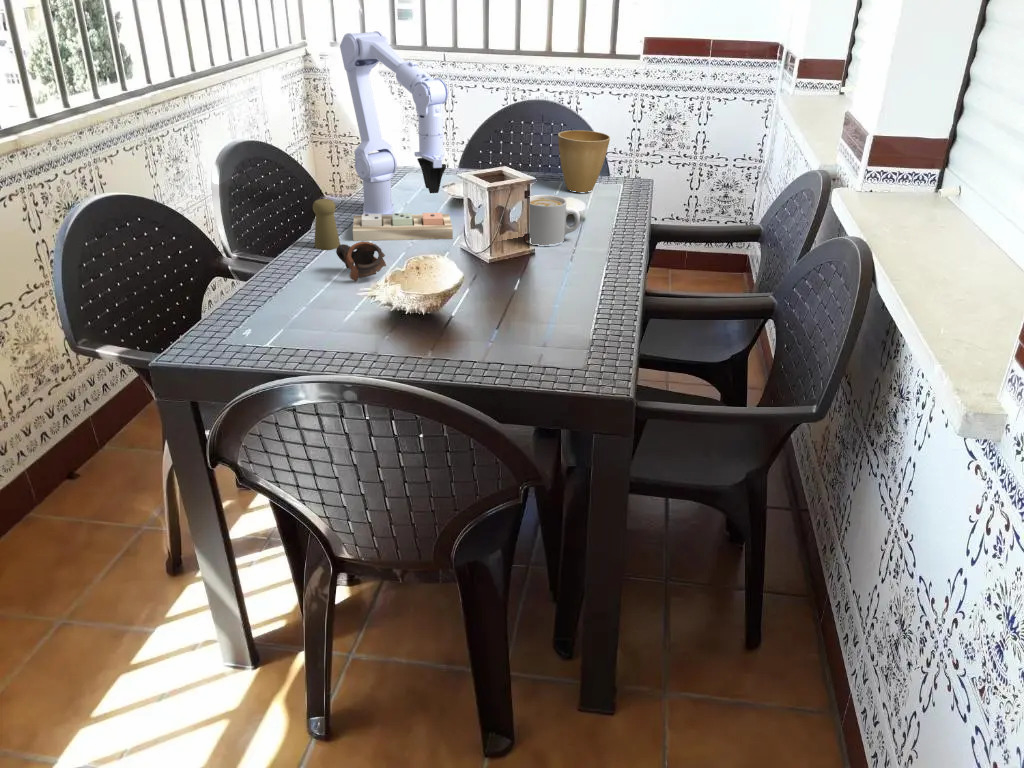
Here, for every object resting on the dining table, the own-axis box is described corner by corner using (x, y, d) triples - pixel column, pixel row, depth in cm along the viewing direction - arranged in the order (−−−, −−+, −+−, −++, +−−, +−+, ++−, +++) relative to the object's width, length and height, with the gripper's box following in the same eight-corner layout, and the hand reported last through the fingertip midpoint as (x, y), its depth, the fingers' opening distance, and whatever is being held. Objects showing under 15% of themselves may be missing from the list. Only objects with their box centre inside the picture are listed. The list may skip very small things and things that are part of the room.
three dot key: (392, 225, 206) (392, 212, 205) (412, 224, 207) (411, 212, 205) (393, 231, 202) (392, 218, 200) (412, 230, 203) (412, 218, 201)
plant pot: (590, 200, 233) (594, 143, 226) (545, 191, 240) (548, 135, 233) (614, 189, 244) (619, 134, 237) (570, 180, 251) (574, 127, 244)
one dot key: (422, 224, 207) (422, 212, 206) (441, 224, 208) (441, 211, 206) (423, 230, 203) (423, 218, 201) (443, 230, 204) (442, 217, 202)
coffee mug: (520, 245, 199) (522, 204, 194) (527, 232, 207) (529, 193, 202) (575, 250, 197) (578, 209, 192) (580, 236, 205) (583, 197, 200)
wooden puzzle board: (354, 225, 208) (354, 215, 207) (449, 223, 212) (448, 214, 210) (353, 240, 198) (352, 230, 197) (452, 238, 201) (452, 228, 200)
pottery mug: (394, 270, 183) (393, 246, 176) (374, 300, 179) (372, 277, 172) (346, 250, 185) (343, 225, 178) (325, 280, 180) (321, 256, 173)
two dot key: (362, 225, 205) (361, 213, 204) (382, 225, 206) (381, 212, 204) (362, 231, 201) (361, 219, 199) (382, 231, 202) (381, 218, 200)
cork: (343, 242, 197) (340, 197, 192) (336, 250, 192) (332, 204, 186) (318, 240, 198) (314, 195, 192) (311, 249, 192) (306, 203, 187)
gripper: (408, 127, 199) (410, 183, 206) (420, 141, 187) (421, 199, 194) (437, 126, 201) (438, 181, 208) (450, 139, 189) (450, 197, 196)
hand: (432, 190), depth 201 cm, fingers open, 4 cm apart
